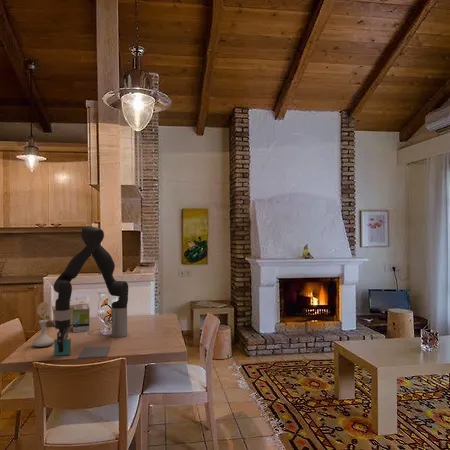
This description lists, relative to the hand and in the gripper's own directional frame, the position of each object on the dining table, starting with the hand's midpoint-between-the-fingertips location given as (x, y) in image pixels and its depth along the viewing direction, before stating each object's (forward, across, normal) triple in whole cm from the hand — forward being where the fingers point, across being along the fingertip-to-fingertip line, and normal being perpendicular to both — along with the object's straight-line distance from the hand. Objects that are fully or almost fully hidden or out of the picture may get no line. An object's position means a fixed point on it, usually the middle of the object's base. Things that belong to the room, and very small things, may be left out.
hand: (62, 349), depth 215 cm
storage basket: (+3, -74, -10) cm, 74 cm away
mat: (+3, 0, +16) cm, 16 cm away
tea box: (+3, -54, 0) cm, 54 cm away
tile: (+3, 0, 0) cm, 3 cm away
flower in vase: (+3, -19, -14) cm, 24 cm away
